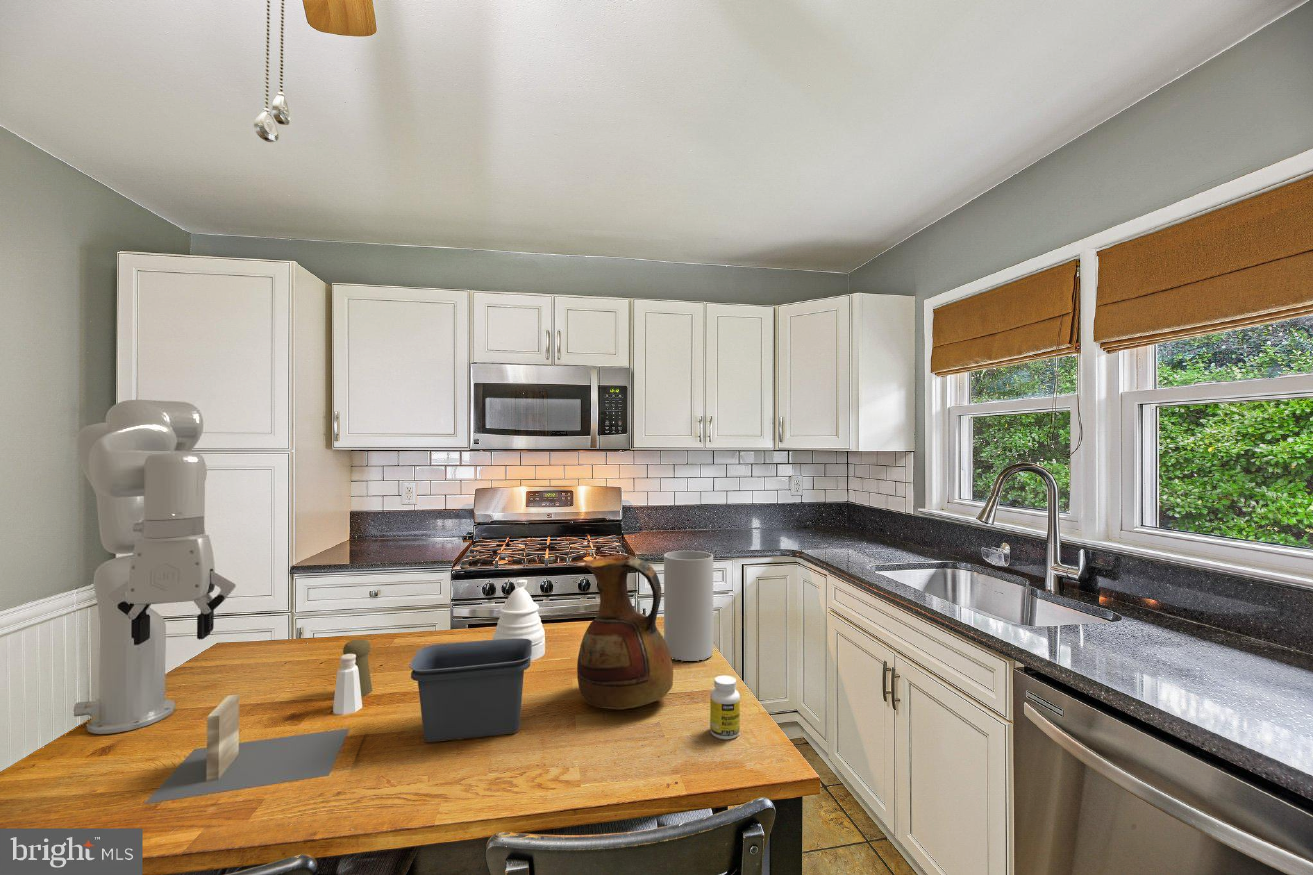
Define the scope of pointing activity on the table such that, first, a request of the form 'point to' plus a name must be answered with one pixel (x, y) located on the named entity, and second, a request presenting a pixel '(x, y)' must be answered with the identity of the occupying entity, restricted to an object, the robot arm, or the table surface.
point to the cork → (361, 662)
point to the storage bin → (471, 687)
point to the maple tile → (222, 737)
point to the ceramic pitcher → (623, 642)
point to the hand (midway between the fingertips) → (173, 638)
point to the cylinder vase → (688, 604)
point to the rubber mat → (256, 765)
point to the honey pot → (521, 620)
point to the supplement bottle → (725, 708)
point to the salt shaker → (347, 687)
